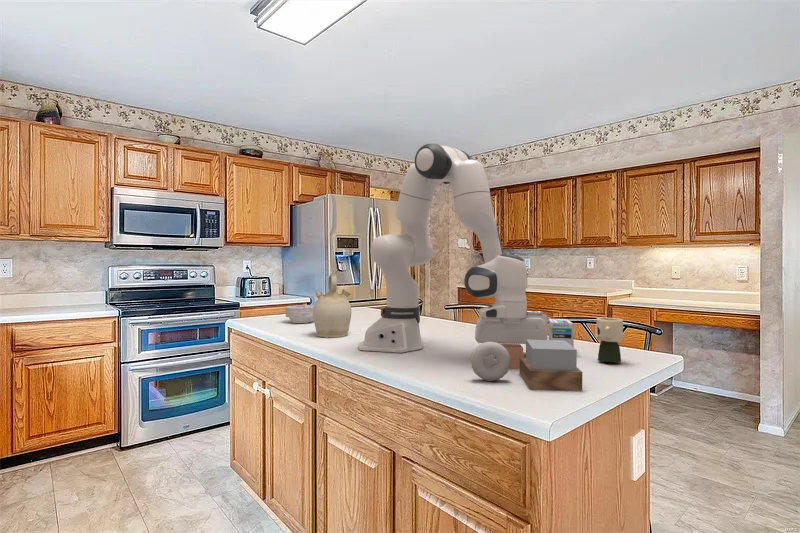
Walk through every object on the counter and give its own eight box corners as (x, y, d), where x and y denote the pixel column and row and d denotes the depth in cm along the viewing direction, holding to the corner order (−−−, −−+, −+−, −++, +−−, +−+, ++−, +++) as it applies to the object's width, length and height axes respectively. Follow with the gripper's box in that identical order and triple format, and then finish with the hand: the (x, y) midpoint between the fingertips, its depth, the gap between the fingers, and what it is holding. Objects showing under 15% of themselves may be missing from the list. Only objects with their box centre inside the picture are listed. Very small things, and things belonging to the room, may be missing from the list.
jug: (352, 331, 188) (352, 272, 187) (350, 338, 172) (349, 273, 172) (316, 332, 187) (315, 272, 187) (310, 338, 172) (309, 273, 171)
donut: (471, 382, 112) (471, 342, 112) (469, 378, 115) (470, 340, 115) (511, 383, 111) (512, 343, 111) (509, 379, 115) (509, 340, 115)
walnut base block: (529, 391, 106) (530, 370, 106) (519, 376, 120) (519, 357, 120) (582, 393, 105) (582, 371, 105) (565, 377, 119) (565, 358, 119)
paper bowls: (302, 319, 226) (302, 303, 226) (324, 321, 217) (324, 305, 217) (278, 322, 214) (278, 306, 214) (300, 325, 205) (300, 308, 205)
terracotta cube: (501, 368, 126) (501, 347, 126) (498, 363, 132) (498, 343, 132) (523, 369, 125) (523, 348, 125) (519, 364, 131) (519, 343, 131)
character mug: (599, 357, 140) (599, 316, 139) (624, 360, 136) (625, 317, 136) (593, 364, 131) (593, 320, 130) (620, 367, 127) (620, 322, 126)
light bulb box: (574, 357, 140) (574, 323, 140) (551, 356, 142) (551, 322, 141) (568, 350, 151) (568, 318, 150) (547, 349, 152) (547, 318, 152)
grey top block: (532, 369, 107) (532, 348, 107) (525, 358, 119) (525, 339, 119) (576, 370, 105) (576, 349, 105) (565, 359, 117) (565, 340, 117)
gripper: (545, 309, 131) (544, 357, 131) (474, 309, 132) (474, 355, 133) (550, 312, 124) (550, 362, 125) (476, 311, 126) (476, 360, 126)
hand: (510, 358), depth 129 cm, fingers open, 7 cm apart
